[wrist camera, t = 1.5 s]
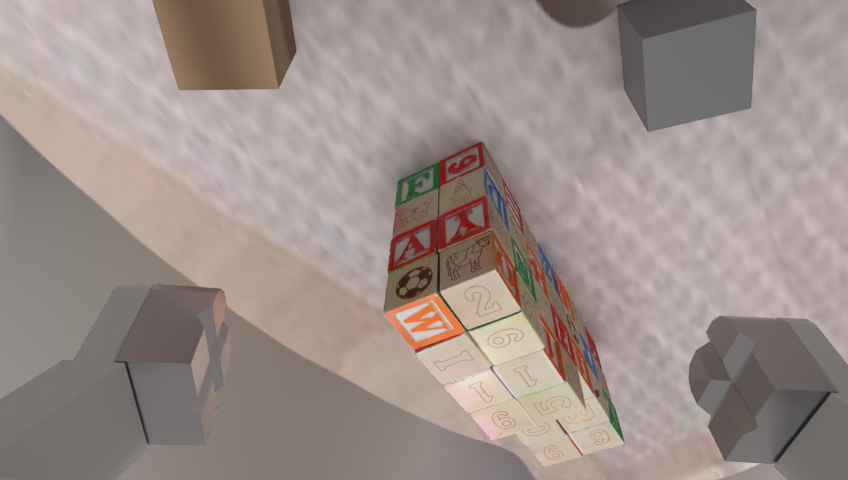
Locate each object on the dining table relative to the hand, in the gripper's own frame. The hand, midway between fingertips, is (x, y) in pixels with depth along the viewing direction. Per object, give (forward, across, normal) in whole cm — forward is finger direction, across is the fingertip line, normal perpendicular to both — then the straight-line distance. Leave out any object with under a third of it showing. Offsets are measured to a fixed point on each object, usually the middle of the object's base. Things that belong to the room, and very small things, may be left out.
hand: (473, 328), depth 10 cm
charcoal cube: (+25, -14, +2) cm, 29 cm away
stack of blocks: (+26, -8, +20) cm, 34 cm away
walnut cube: (+26, +9, +3) cm, 28 cm away
